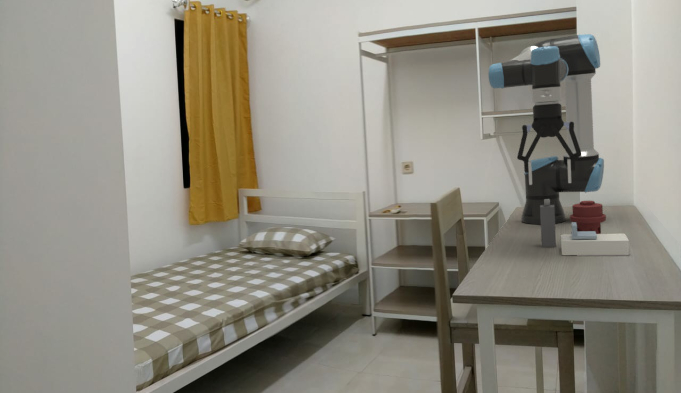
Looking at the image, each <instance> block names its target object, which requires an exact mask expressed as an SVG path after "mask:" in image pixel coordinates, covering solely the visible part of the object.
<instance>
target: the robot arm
mask: <svg viewBox="0 0 681 393" xmlns="http://www.w3.org/2000/svg"><path fill="white" fill-rule="evenodd" d="M600 67H601V55H600V50H599V46H598V42H597V39H596V37H595V36H594V35H593V34H590V33H589V34H585V33H584V34H576V35H570V36H563V37H562V36H561V37H556V38H548V39H544V40H541V41H538V42H536V43H534V44H531V45H529V46H526V47H525V48H524V49H523V50H522V51H521V52H520V54H519V55H517V56H515V57H513V58H512V59H510V60H508V61H504V62H498V63H493V64H491V65H490V66H489V68H488V73H487V74H488V83H489V85H490V86H491V88H493V89H505V88H506V89H507V88H515V87H522V86H525V87H526V86H531V89H532V90H531V92H532V93H531V96H532V104H534V105H533V106H532V116H533V118H532V119H533V120H532V123H531V124H523V125H522V127H521V129H522V136H521V139H520V145H519V149H518V151H517V152H518V153H517V157H516V158H517V160H518V161H519V160H520V161H522V162H523V166H524V167H523V168H524V170H523V171H524V183H525V184H524V185H525V186H524V187H525V188H524V189H525V203H524V206H523V209H522V210H523V211H522V214H521V221H522V223H524V224H530V225H541V219H540V205H544V199H550V205H554V210H555V224H559V223H560V224H561V223H563V222H565V221H566V213H565V210H564V208H563V205H562V202H561V200H560V193H584V194H585V193H586V194H587V193H591V192H592V193H593V192H594V193H595V192H598V191H599V190H600V189H601V186H602V185H603V183H602V182H603V177H604V169H605V160H604V158H602V157H599V156H600V154H599V152H598V150H596V149H595V148H594V147H595V145H594V122H593V121H594V120H593V119H594V118H593V98H592V97H593V95H592V94H593V93H592V92H593V91H592V78H593V77H594V76H595V75H596V72H597V71H596V70H597V69H599V68H600ZM561 82H563V83H564V97H565V98H564V100H565V101H564V102H565V121H564V120H563V117H562V104H561V103H560V102H561V101H562V90H561V89H562V88H561ZM563 127H565V129H566V137H567V138H566V140H565V139H564V138H563V136H562V134H561V133H560V132H561V130H562V129H563ZM531 129H532V130H533V131H534V132H535V133H536V135H535V137H534V139H533V141H532V142H531V144H530V146H529V149H528V151H527V152H526V154H525V155H523V154H524V150H525V146H526V142H527V138H528V134H529V133H530V132H531ZM547 137H550V138H554V137H556V139H557V140H558V141H559V143H560V144H561V146H562V147H563V149H564V150H565V153H564V154H563V155H562V156H563V159H559V157H558V155H555V156H554V155H553V156H552V155H551V156H547V157H541V158H537V159H530V158H531V156H532V154H533V152H534V151H535V148H536V146H537V144H538V143H539V141H540V139H541V138H543V139H544V138H547Z"/></svg>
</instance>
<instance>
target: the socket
mask: <svg viewBox="0 0 681 393" xmlns="http://www.w3.org/2000/svg"><path fill="white" fill-rule="evenodd" d="M596 235H597V239H572V236H571V233H568V234H560V245H561V247H560V248H561V256H562V255H577V256H630V240H629V238H628V236H627V235H626V234H625V233H601V234H596Z"/></svg>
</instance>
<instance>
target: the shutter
mask: <svg viewBox="0 0 681 393" xmlns="http://www.w3.org/2000/svg"><path fill="white" fill-rule="evenodd" d="M570 234H571V236H572V239H597V235H596V232H595V231H577V224H576V222H571V232H570Z"/></svg>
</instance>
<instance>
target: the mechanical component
mask: <svg viewBox="0 0 681 393" xmlns="http://www.w3.org/2000/svg"><path fill="white" fill-rule="evenodd" d="M571 208H572V214H570V215H569V221H570V222H571V223H572V222H576V224H577V231H595V232H596V234H602V229H601V228H602V227H601V223H603V222H606V220H607V216H606V214H605V213H604V212H603V211H604V210H603V209H604V208H603V204H602V203H597V202H595V201H594V200H581V201H580V202H579V203H575V204H572V207H571Z"/></svg>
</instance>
